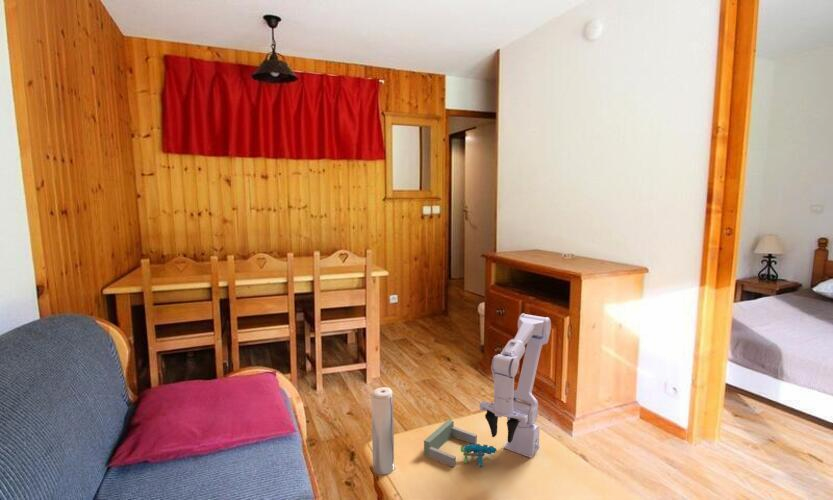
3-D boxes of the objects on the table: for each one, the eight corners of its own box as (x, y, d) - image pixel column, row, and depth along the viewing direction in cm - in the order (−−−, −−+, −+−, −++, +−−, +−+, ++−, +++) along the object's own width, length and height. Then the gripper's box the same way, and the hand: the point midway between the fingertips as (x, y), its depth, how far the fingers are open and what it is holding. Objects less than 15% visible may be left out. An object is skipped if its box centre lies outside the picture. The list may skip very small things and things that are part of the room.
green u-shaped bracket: (476, 443, 142) (477, 429, 141) (453, 467, 129) (453, 452, 128) (448, 432, 148) (448, 419, 147) (424, 455, 135) (424, 440, 135)
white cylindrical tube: (384, 458, 134) (383, 384, 130) (398, 468, 129) (397, 390, 126) (368, 468, 129) (366, 391, 126) (382, 478, 124) (380, 398, 121)
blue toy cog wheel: (498, 450, 135) (493, 442, 128) (499, 470, 131) (494, 463, 124) (464, 449, 138) (457, 441, 131) (464, 469, 135) (457, 462, 127)
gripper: (475, 393, 126) (474, 436, 127) (522, 407, 117) (520, 453, 119) (485, 385, 131) (484, 426, 133) (531, 397, 123) (529, 441, 125)
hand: (502, 438), depth 126 cm, fingers open, 4 cm apart
